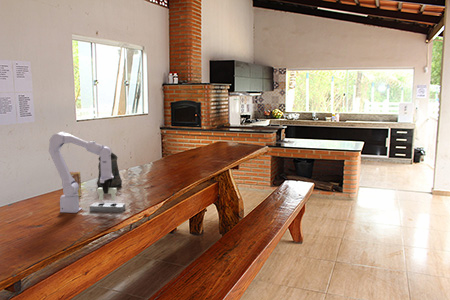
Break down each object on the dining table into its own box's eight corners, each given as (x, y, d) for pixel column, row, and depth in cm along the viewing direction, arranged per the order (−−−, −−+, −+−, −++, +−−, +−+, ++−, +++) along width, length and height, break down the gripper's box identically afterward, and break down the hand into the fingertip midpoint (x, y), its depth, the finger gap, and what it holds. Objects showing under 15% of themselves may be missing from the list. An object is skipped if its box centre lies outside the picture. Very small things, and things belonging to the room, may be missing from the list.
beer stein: (121, 182, 285) (120, 148, 281) (123, 189, 267) (122, 152, 263) (96, 184, 280) (95, 149, 276) (97, 191, 262) (95, 154, 258)
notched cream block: (97, 200, 223) (97, 188, 222) (99, 198, 226) (99, 187, 225) (115, 200, 222) (114, 189, 221) (117, 199, 225) (116, 187, 224)
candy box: (81, 194, 254) (80, 171, 252) (80, 196, 250) (78, 172, 248) (67, 195, 253) (65, 171, 251) (65, 197, 249) (63, 173, 247)
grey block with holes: (89, 211, 222) (89, 206, 222) (94, 207, 229) (94, 202, 229) (121, 212, 221) (121, 207, 221) (125, 208, 228) (125, 203, 227)
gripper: (108, 171, 214) (109, 196, 216) (117, 166, 228) (118, 189, 230) (95, 171, 214) (96, 195, 216) (105, 165, 228) (106, 188, 231)
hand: (107, 192), depth 223 cm, fingers closed on notched cream block, 3 cm apart
